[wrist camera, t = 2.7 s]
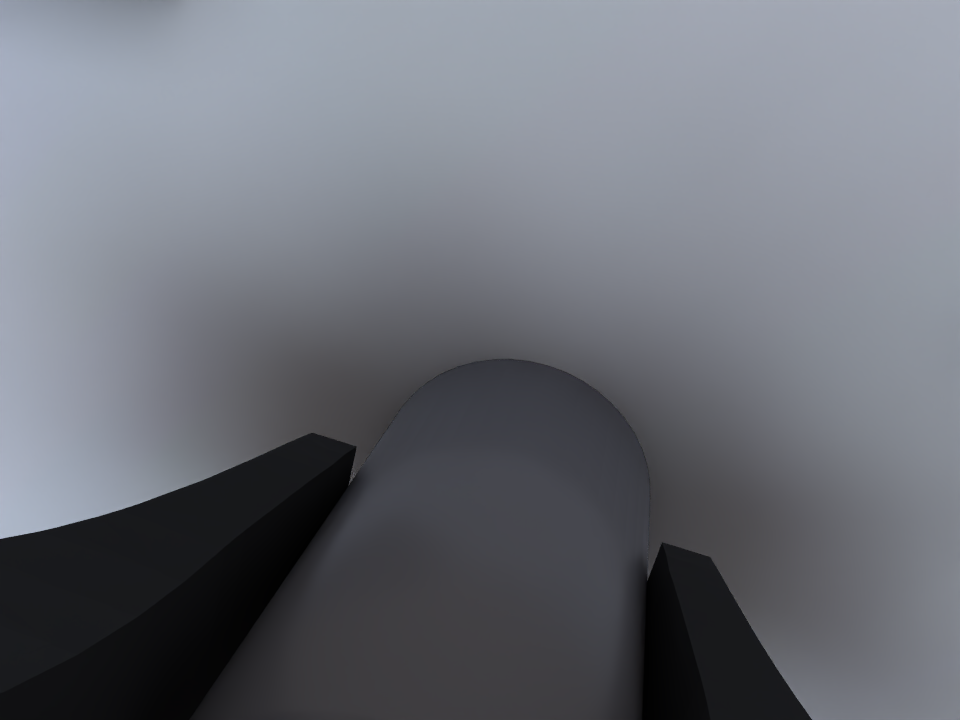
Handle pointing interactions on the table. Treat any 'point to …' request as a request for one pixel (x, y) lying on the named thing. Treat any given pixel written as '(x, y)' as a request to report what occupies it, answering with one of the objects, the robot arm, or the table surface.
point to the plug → (467, 568)
